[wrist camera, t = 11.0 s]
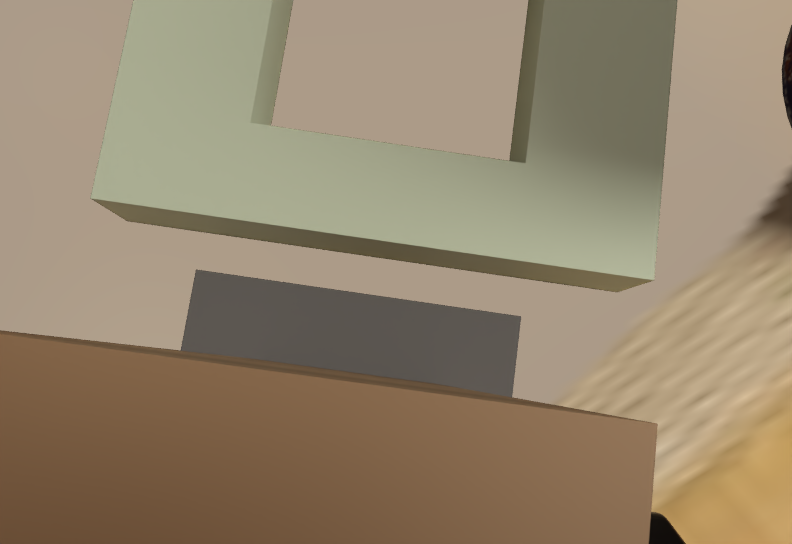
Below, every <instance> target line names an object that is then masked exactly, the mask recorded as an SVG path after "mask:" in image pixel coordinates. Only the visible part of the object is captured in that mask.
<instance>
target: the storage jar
mask: <svg viewBox="0 0 792 544" xmlns="http://www.w3.org/2000/svg"><path fill="white" fill-rule="evenodd" d="M782 84H783V96H784V102H785V106H786V112H787V116H788V119H789V122H790V125H791V128H792V25H791V28H790V32H789V35H788V38H787V41H786V45H785V50H784V57H783V65H782Z"/></svg>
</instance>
